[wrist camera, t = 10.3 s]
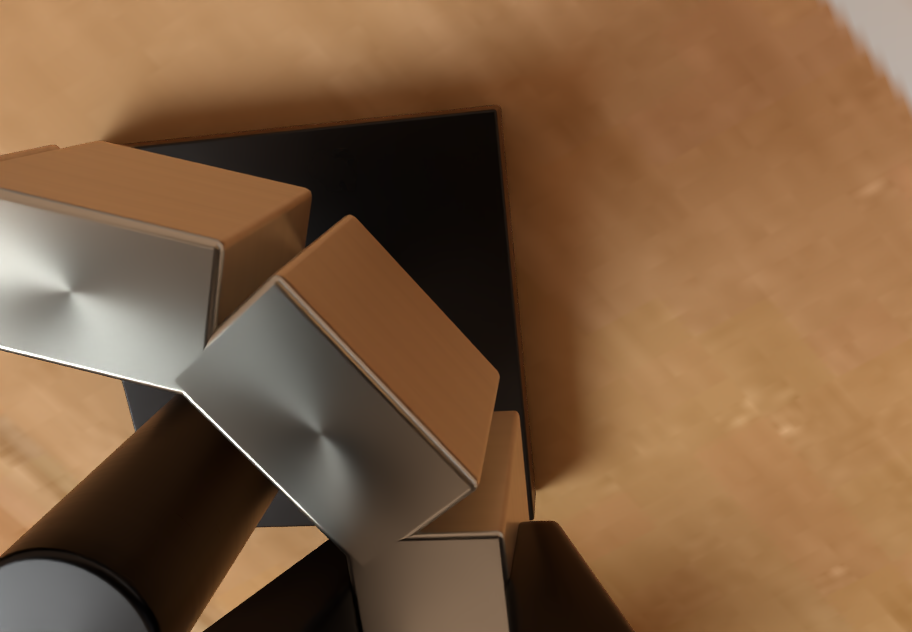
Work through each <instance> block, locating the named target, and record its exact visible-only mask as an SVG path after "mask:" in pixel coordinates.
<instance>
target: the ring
mask: <svg viewBox="0 0 912 632" xmlns="http://www.w3.org/2000/svg"><path fill="white" fill-rule="evenodd" d="M311 202H312V194H311V191H310V190H308V189H306V188H304V187H299V186H295V185H291V184H286V183H282V182H278V181H273V180H269V179H265V178H260V177H256V176H252V175H247V174H243V173H239V172H234V171H230V170H226V169H222V168H217V167H213V166H209V165H204V164H200V163H196V162H191V161H187V160H183V159H178V158H174V157H170V156H165V155H161V154H157V153H152V152H148V151H144V150H139V149H135V148H131V147H126V146H122V145H118V144H113V143H109V142H105V141H100V140H99V141H94V142H89V143H85V144H80V145H75V146H71V147H66V148H61V149H60V148H59V147H58V146H57V145H48V146H44V147H39V148H34V149H29V150H24V151H19V152H14V153H9V154H4V155H0V350H2V351H6V352H10V353H14V354H18V355H22V356H26V357H30V358H34V359H38V360H43V361H47V362H51V363H55V364H59V365H63V366H67V367H71V368H75V369H79V370H83V371H87V372H91V373H95V374H99V375H103V376H107V377H111V378H115V379H119V380H124V381H128V382H132V383H136V384H140V385H144V386H148V387H152V388H156V389H160V390H164V391H168V392H172V393H176V394H180V395H183V396H184V397H185V398H186V399H187V400H188V401H189V402H190V403H191V404H192V405H193V406H194V407H195V408H196V409H197V410H198V411H199V412H200V413H201V414H202V415H203V416H204V417H205V418H206V419H208V420H209V421H210V422H211V423H212V424H213V425H214V426H215V427H216V428H217V429H218V430H219V431H220V432H221V433H222V434H223V435H224V436H225V437H226V438H227V439H228V440H229V441H230V442H231V443H232V444H233V445H234V446H235V447H236V448H237V449H238V450H239V451H240V452H241V453H242V454H243V455H244V456H245V457H246V458H247V459H248V460H249V461H250V462H251V463H252V464H253V465H254V466H255V467H256V468H257V469H258V470H259V471H260V472H261V473H262V474H263V475H264V476H266V477H267V478H268V479H269V480H270V481H271V482H272V483H273V484H274V485H275V486H276V487H277V488H278V489H279V490H280V491H281V492H282V493H283V494H284V495H285V496H286V497H287V498H288V499H289V500H290V501H291V502H292V503H293V504H294V505H295V506H296V507H297V508H298V509H299V510H300V511H301V512H302V513H303V514H304V515H305V516H306V517H307V518H308V519H309V520H310V521H311V522H312V523H313V524H314V525H315V526H316V527H317V528H318V529H319V530H320V531H321V532H322V533H324V534H325V535H326V536H327V537H328V538H329V539H330V540H331V541H332V542H333V543H334V544H335V545H336V546H337V547H338V548H339V549H340V550H341V551H342V552H343V553H344V554H345V555H346V558H347V563H348V569H349V574H350V580H351V585H352V590H353V596H354V601H355V607H356V612H357V618H358V624H359V629H360V632H510V631H509V622H508V612H507V599H506V591H507V583H508V581H509V579H510V574H511V568H512V562H513V556H514V550H515V544H516V538H517V532H518V526H519V523H521V522H525V521H529V511H528V501H527V490H526V480H525V469H524V459H523V448H522V437H521V427H520V416H519V414H518V412H517V411H494V406H495V400H496V395H497V390H498V384H499V379H500V376H499V373H498V371H497V370H496V369H495V368H494V367H493V366H492V365H491V363H490V362H489V361H488V360H487V359H486V358H485V357H484V356H483V355H482V354H481V353H480V352H479V350H478V349H477V348H476V347H475V346H474V345H473V344H472V343H471V342H470V341H469V340H468V339H467V337H466V336H465V335H464V334H463V333H462V332H461V331H460V330H459V329H458V328H457V327H456V326H455V324H454V323H453V322H452V321H451V320H450V319H449V318H448V317H447V316H446V315H445V314H444V313H443V311H442V310H441V309H440V308H439V307H438V306H437V305H436V304H435V303H434V302H433V301H432V300H431V298H430V297H429V296H428V295H427V294H426V293H425V292H424V291H423V290H422V289H421V288H420V287H419V285H418V284H417V283H416V282H415V281H414V280H413V279H412V278H411V277H410V276H409V275H408V274H407V272H406V271H405V270H404V269H403V268H402V267H401V266H400V265H399V264H398V263H397V262H396V261H395V259H394V258H393V257H392V256H391V255H390V254H389V253H388V252H387V251H386V250H385V249H384V248H383V246H382V245H381V244H380V243H379V242H378V241H377V240H376V239H375V238H374V237H373V236H372V235H371V233H370V232H369V231H368V230H367V229H366V228H365V227H364V226H363V225H362V224H361V223H360V222H359V220H358V219H357V218H356V217H354V216H352V215H347V216H344V217H343V218H342V219H341V220H339V221H338V222H337V223H336V224H334V225H333V226H332V227H331V228H329V229H328V230H327V231H326V232H324V233H323V234H322V235H321V236H320V237H318V238H317V239H316V240H315V241H313V242H312V243H311V244H310V245H308V246H307V247H306V248H305V243H306V236H307V229H308V222H309V216H310V209H311Z"/></svg>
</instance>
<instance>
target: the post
mask: <svg viewBox="0 0 912 632" xmlns="http://www.w3.org/2000/svg"><path fill="white" fill-rule="evenodd" d="M120 145H122V146H126V147H131V148H135V149H139V150H144V151H148V152H152V153H157V154H161V155H165V156H170V157H174V158H178V159H183V160H187V161H191V162H196V163H200V164H204V165H209V166H213V167H217V168H222V169H226V170H230V171H234V172H239V173H243V174H247V175H252V176H256V177H260V178H265V179H269V180H273V181H278V182H282V183H286V184H291V185H295V186H299V187H304V188H306V189H308V190H310V191H311V194H312V202H311V209H310V216H309V222H308V229H307V236H306V243H305V248H306V247H307V246H308V245H310V244H311V243H312V242H313V241H315V240H316V239H317V238H318V237H320V236H321V235H322V234H323V233H324V232H326V231H327V230H328V229H329V228H331V227H332V226H333V225H334V224H336V223H337V222H338V221H339V220H341V219H342V218H343V217H344V216H347V215H352V216H354V217H356V218H357V219H358V220H359V222H360V223H361V224H362V225H363V226H364V227H365V228H366V229H367V230H368V231H369V232H370V233H371V235H372V236H373V237H374V238H375V239H376V240H377V241H378V242H379V243H380V244H381V245H382V246H383V248H384V249H385V250H386V251H387V252H388V253H389V254H390V255H391V256H392V257H393V258H394V259H395V261H396V262H397V263H398V264H399V265H400V266H401V267H402V268H403V269H404V270H405V271H406V272H407V274H408V275H409V276H410V277H411V278H412V279H413V280H414V281H415V282H416V283H417V284H418V285H419V287H420V288H421V289H422V290H423V291H424V292H425V293H426V294H427V295H428V296H429V297H430V298H431V300H432V301H433V302H434V303H435V304H436V305H437V306H438V307H439V308H440V309H441V310H442V311H443V313H444V314H445V315H446V316H447V317H448V318H449V319H450V320H451V321H452V322H453V323H454V324H455V326H456V327H457V328H458V329H459V330H460V331H461V332H462V333H463V334H464V335H465V336H466V337H467V339H468V340H469V341H470V342H471V343H472V344H473V345H474V346H475V347H476V348H477V349H478V350H479V352H480V353H481V354H482V355H483V356H484V357H485V358H486V359H487V360H488V361H489V362H490V363H491V365H492V366H493V367H494V368H495V369H496V370H497V371H498V373H499V376H500V379H499V384H498V390H497V395H496V400H495V406H494V411H517V412H518V414H519V416H520V427H521V437H522V448H523V459H524V469H525V480H526V490H527V501H528V511H529V520H533V519H534V514H535V497H536V492H535V481H534V470H533V458H532V447H531V436H530V425H529V414H528V403H527V392H526V381H525V370H524V359H523V348H522V336H521V325H520V314H519V303H518V292H517V281H516V270H515V259H514V248H513V237H512V225H511V214H510V203H509V192H508V181H507V170H506V159H505V148H504V137H503V126H502V115H501V107H500V105H491V106H481V107H472V108H462V109H453V110H443V111H434V112H424V113H415V114H405V115H396V116H386V117H377V118H367V119H358V120H348V121H339V122H329V123H320V124H310V125H301V126H291V127H282V128H272V129H263V130H253V131H244V132H234V133H225V134H215V135H206V136H196V137H187V138H177V139H168V140H158V141H149V142H139V143H130V144H120ZM122 383H123V387H124V390H125V394H126V398H127V402H128V406H129V410H130V413H131V417H132V421H133V425H134V429H135V433H134V434H133V435H132V436H130V437H129V438H128V439H127V440H126V441H125V442H124V443H123V444H122V445H121V446H120V447H118V448H117V449H116V450H115V451H114V452H113V453H112V454H111V455H110V456H109V457H108V458H107V459H105V460H104V461H103V462H102V463H101V464H100V465H99V466H98V467H97V468H96V469H95V470H93V471H92V472H91V473H90V474H89V475H88V476H87V477H86V478H85V479H84V480H83V481H82V482H80V483H79V484H78V485H77V486H76V487H75V488H74V489H73V490H72V491H71V492H70V493H68V494H67V495H66V496H65V497H64V498H63V499H62V500H61V501H60V502H59V503H58V504H57V505H55V506H54V507H53V508H52V509H51V510H50V511H49V512H48V513H47V514H46V515H45V516H44V517H42V518H41V519H40V520H39V521H38V522H37V523H36V524H35V525H34V526H33V527H32V528H30V529H29V530H28V531H27V532H26V533H25V534H24V535H23V536H22V537H21V538H20V539H19V540H17V541H16V542H15V543H14V544H13V545H12V546H11V547H10V548H9V549H8V550H7V551H5V552H4V553H3V554H2V555H1V556H0V632H190V631H191V630H192V628H193V627H194V625H195V623H196V622H197V620H198V619H199V617H200V615H201V614H202V612H203V611H204V609H205V607H206V606H207V604H208V603H209V601H210V599H211V598H212V596H213V595H214V593H215V591H216V590H217V588H218V587H219V585H220V583H221V582H222V580H223V579H224V577H225V576H226V574H227V572H228V571H229V569H230V568H231V566H232V564H233V563H234V561H235V560H236V558H237V556H238V555H239V553H240V552H241V550H242V548H243V547H244V545H245V544H246V542H247V540H248V539H249V537H250V536H251V534H252V532H253V531H254V529H255V528H256V527H288V526H315V525H314V524H313V523H312V522H311V521H310V520H309V519H308V518H307V517H306V516H305V515H304V514H303V513H302V512H301V511H300V510H299V509H298V508H297V507H296V506H295V505H294V504H293V503H292V502H291V501H290V500H289V499H288V498H287V497H286V496H285V495H284V494H283V493H282V492H281V491H280V490H279V489H278V488H277V487H276V486H275V485H274V484H273V483H272V482H271V481H270V480H269V479H268V478H267V477H266V476H264V475H263V474H262V473H261V472H260V471H259V470H258V469H257V468H256V467H255V466H254V465H253V464H252V463H251V462H250V461H249V460H248V459H247V458H246V457H245V456H244V455H243V454H242V453H241V452H240V451H239V450H238V449H237V448H236V447H235V446H234V445H233V444H232V443H231V442H230V441H229V440H228V439H227V438H226V437H225V436H224V435H223V434H222V433H221V432H220V431H219V430H218V429H217V428H216V427H215V426H214V425H213V424H212V423H211V422H210V421H209V420H208V419H206V418H205V417H204V416H203V415H202V414H201V413H200V412H199V411H198V410H197V409H196V408H195V407H194V406H193V405H192V404H191V403H190V402H189V401H188V400H187V399H186V398H185V397H184V396H183V395H180V394H176V393H172V392H168V391H164V390H160V389H156V388H152V387H148V386H144V385H140V384H136V383H132V382H128V381H124V380H122Z"/></svg>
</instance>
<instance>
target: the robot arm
mask: <svg viewBox="0 0 912 632" xmlns="http://www.w3.org/2000/svg"><path fill="white" fill-rule="evenodd" d="M506 599H507V612H508V622H509V631H510V632H634V630H633V629H632V627H631V626H630V624H629V623H628V622H627V620H626V619H625V617H624V616H623V614H622V613H621V612H620V610H619V609H618V607H617V606H616V605H615V603H614V602H613V600H612V599H611V597H610V596H609V595H608V593H607V592H606V590H605V589H604V587H603V586H602V585H601V583H600V582H599V580H598V579H597V578H596V576H595V575H594V573H593V572H592V570H591V569H590V568H589V566H588V565H587V563H586V562H585V561H584V559H583V558H582V556H581V555H580V553H579V552H578V551H577V549H576V548H575V546H574V545H573V543H572V542H571V541H570V539H569V538H568V536H567V535H566V534H565V532H564V531H563V529H562V528H561V526H560V525H559V524H558V523H557V522H555V521H525V522H521V523H519V526H518V532H517V538H516V544H515V550H514V556H513V562H512V568H511V574H510V579H509V581H508V583H507V591H506ZM203 632H360V629H359V624H358V618H357V612H356V607H355V601H354V596H353V590H352V585H351V580H350V574H349V569H348V563H347V558H346V555H345V554H344V553H343V552H342V551H341V550H340V549H339V548H338V547H337V546H336V545H335V544H334V543H333V542H332V541H331V540H330V539H329V540H327V541H326V542H325V543H323V544H322V545H321V546H319V547H318V548H317V549H315V550H314V551H312V552H311V553H310V554H308V555H307V556H306V557H304V558H303V559H301V560H300V561H299V562H297V563H296V564H295V565H293V566H292V567H291V568H289V569H288V570H286V571H285V572H284V573H282V574H281V575H280V576H278V577H277V578H276V579H274V580H273V581H271V582H270V583H269V584H267V585H266V586H265V587H263V588H262V589H260V590H259V591H258V592H256V593H255V594H254V595H252V596H251V597H250V598H248V599H247V600H245V601H244V602H243V603H241V604H240V605H239V606H237V607H236V608H235V609H233V610H232V611H230V612H229V613H228V614H226V615H225V616H224V617H222V618H221V619H219V620H218V621H217V622H215V623H214V624H213V625H211V626H210V627H209V628H207V629H206V630H204V631H203Z"/></svg>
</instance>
